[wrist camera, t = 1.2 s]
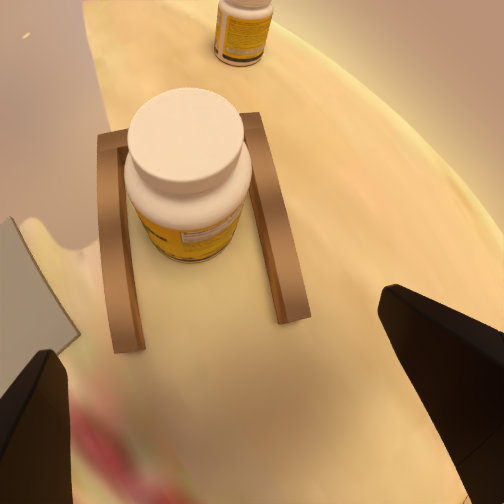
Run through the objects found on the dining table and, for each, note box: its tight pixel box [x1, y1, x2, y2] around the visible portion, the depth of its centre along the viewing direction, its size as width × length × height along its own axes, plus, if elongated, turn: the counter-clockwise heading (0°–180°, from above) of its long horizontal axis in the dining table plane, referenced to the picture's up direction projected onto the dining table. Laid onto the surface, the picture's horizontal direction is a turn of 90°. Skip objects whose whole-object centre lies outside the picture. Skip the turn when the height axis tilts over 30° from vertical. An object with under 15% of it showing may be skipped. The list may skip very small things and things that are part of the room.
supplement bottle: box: [214, 0, 273, 66], centre depth 23 cm, size 5×5×8 cm
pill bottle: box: [124, 88, 252, 263], centre depth 17 cm, size 6×6×11 cm
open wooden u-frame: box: [97, 112, 311, 354], centre depth 21 cm, size 15×12×2 cm
